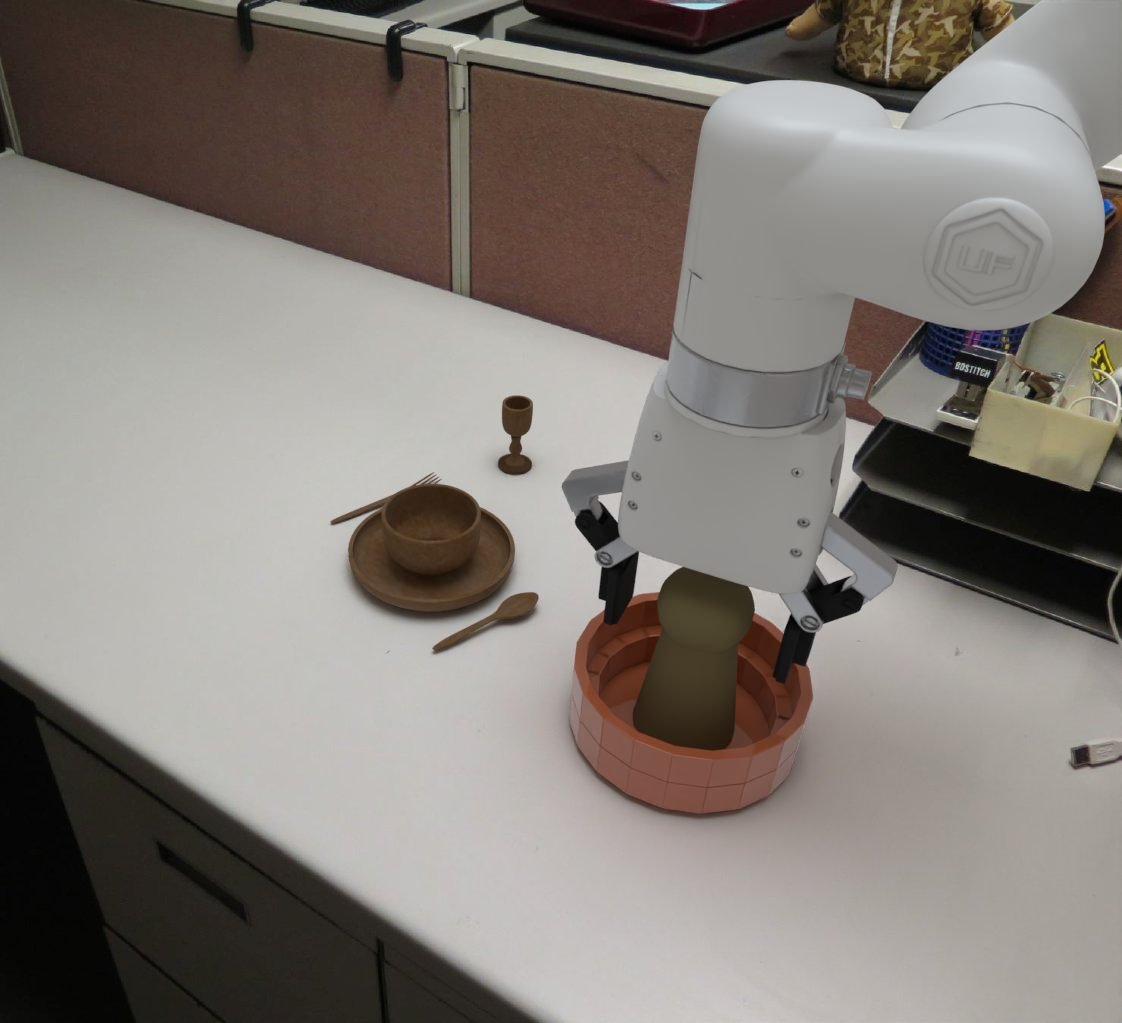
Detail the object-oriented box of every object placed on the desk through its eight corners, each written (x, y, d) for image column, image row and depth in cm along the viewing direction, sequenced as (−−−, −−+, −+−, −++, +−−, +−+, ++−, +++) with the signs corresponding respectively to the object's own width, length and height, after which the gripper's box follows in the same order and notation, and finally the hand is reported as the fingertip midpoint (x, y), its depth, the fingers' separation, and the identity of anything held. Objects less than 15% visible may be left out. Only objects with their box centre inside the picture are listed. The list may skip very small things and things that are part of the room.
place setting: (301, 529, 79) (294, 464, 76) (514, 448, 88) (517, 387, 84) (425, 668, 68) (424, 599, 64) (657, 559, 76) (667, 493, 73)
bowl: (817, 692, 66) (834, 634, 63) (762, 855, 56) (779, 795, 53) (615, 623, 71) (622, 567, 68) (533, 762, 61) (538, 703, 58)
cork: (627, 749, 61) (649, 610, 55) (637, 677, 66) (657, 540, 60) (733, 768, 60) (768, 628, 54) (735, 693, 65) (767, 555, 58)
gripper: (959, 376, 48) (870, 646, 58) (604, 301, 55) (581, 555, 65) (936, 457, 43) (843, 738, 53) (546, 362, 49) (531, 628, 60)
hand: (698, 637), depth 59 cm, fingers open, 9 cm apart
